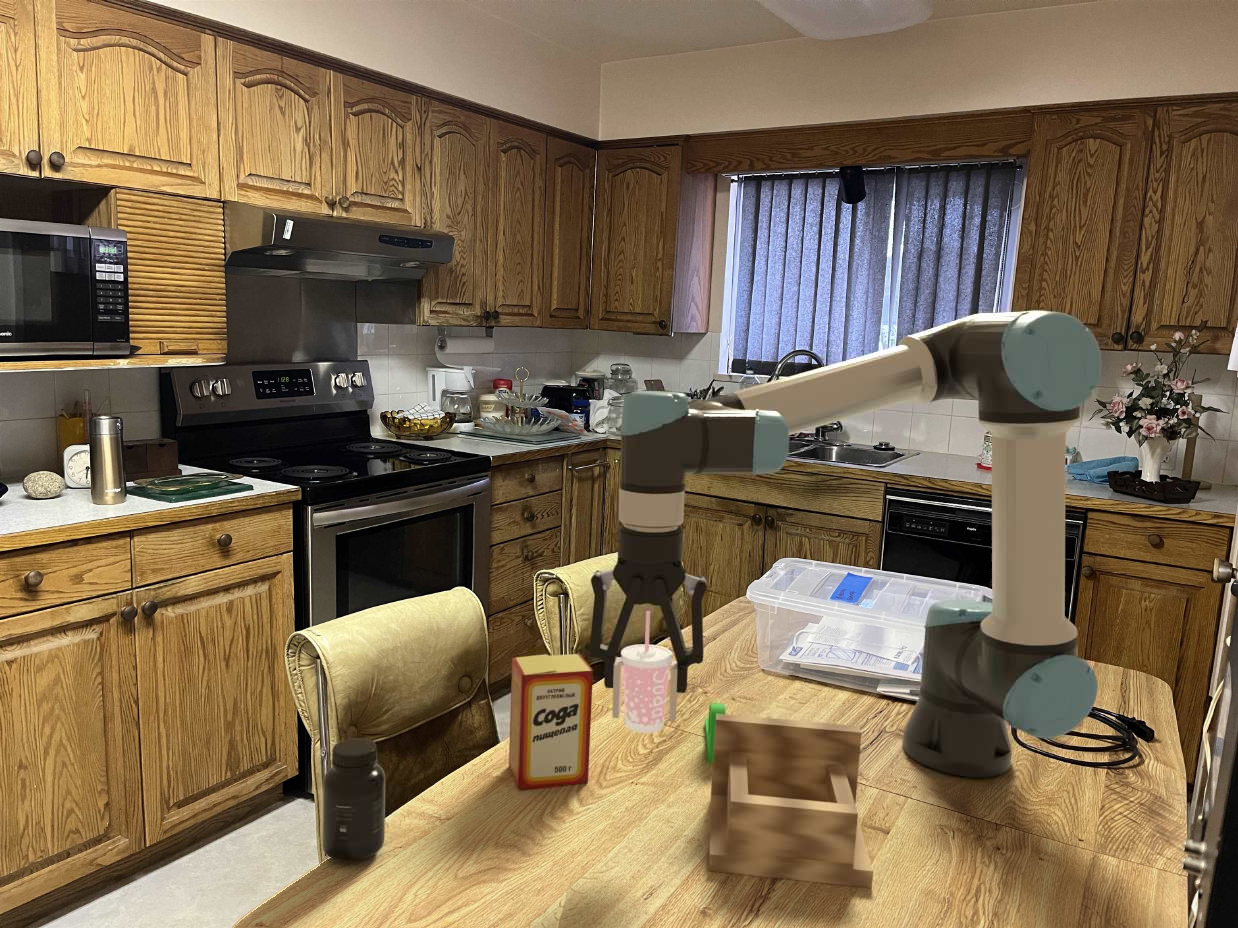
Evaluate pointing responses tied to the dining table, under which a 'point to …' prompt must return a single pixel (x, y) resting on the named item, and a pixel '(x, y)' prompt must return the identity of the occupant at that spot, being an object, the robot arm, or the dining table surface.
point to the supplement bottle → (353, 802)
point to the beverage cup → (645, 684)
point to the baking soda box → (550, 720)
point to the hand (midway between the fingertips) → (644, 714)
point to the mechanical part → (712, 727)
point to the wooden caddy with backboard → (787, 801)
